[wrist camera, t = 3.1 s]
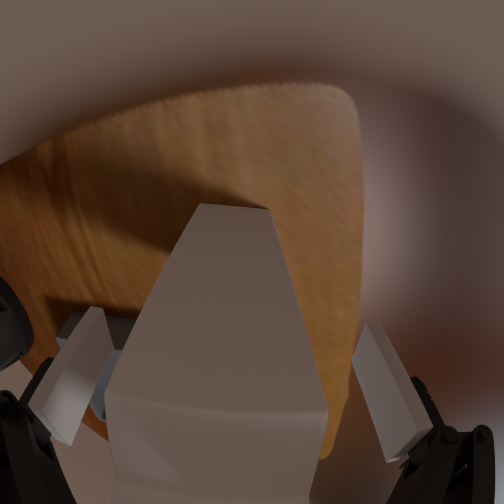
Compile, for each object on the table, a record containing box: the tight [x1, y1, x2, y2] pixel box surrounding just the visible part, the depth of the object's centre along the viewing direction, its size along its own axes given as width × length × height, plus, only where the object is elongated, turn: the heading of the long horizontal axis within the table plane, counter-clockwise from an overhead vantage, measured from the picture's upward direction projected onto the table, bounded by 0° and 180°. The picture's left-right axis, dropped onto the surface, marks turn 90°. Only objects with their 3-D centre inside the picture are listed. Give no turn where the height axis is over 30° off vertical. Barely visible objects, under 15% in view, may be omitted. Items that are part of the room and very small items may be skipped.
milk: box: [104, 203, 328, 504], centre depth 14 cm, size 6×6×22 cm
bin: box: [55, 311, 136, 422], centre depth 29 cm, size 20×17×5 cm
